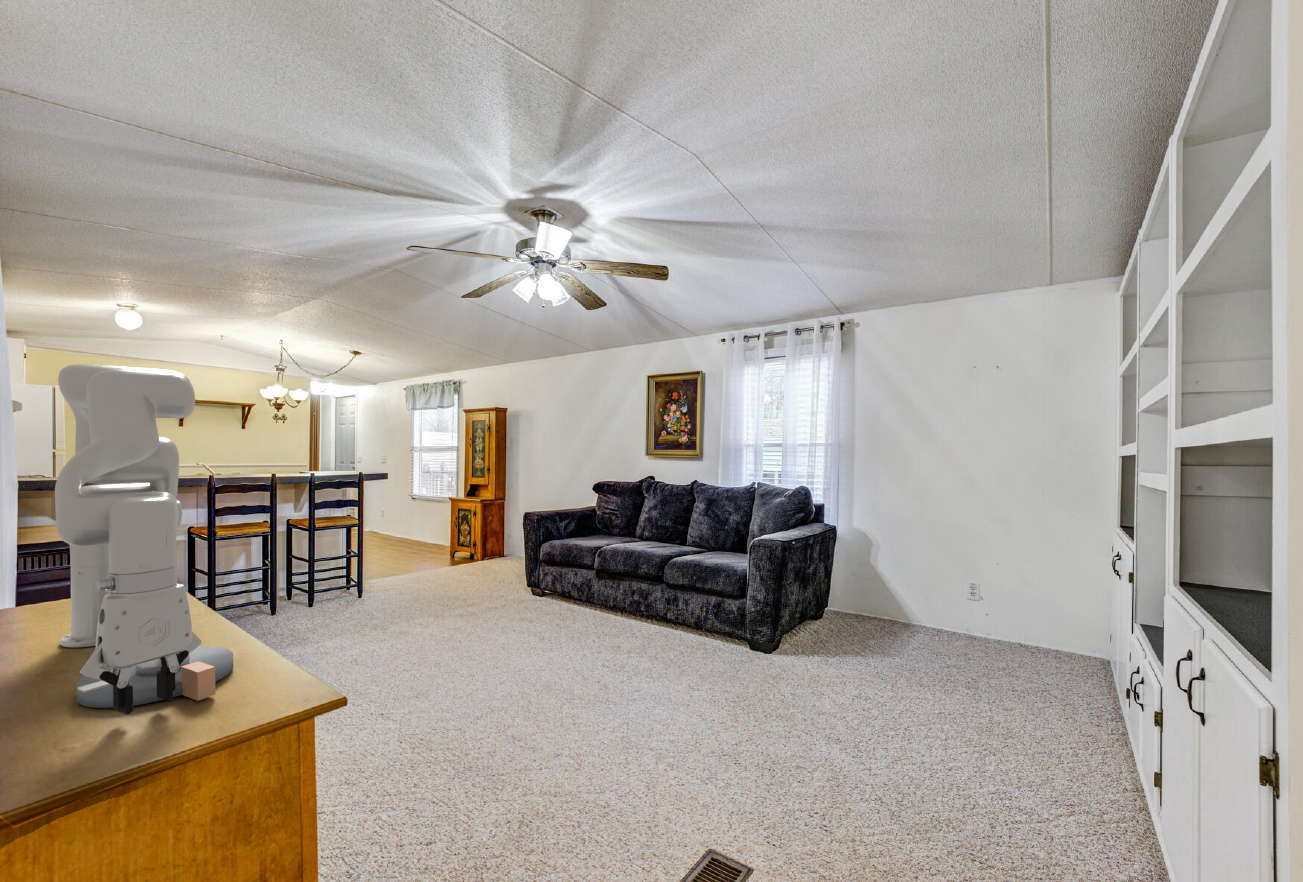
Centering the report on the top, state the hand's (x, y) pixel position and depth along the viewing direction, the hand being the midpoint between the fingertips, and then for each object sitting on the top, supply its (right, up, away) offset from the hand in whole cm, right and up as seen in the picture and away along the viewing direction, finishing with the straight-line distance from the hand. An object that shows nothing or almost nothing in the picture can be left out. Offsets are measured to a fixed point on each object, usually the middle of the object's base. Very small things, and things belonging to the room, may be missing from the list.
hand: (145, 703), depth 86 cm
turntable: (-6, -1, +11) cm, 12 cm away
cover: (-7, +1, +12) cm, 14 cm away
